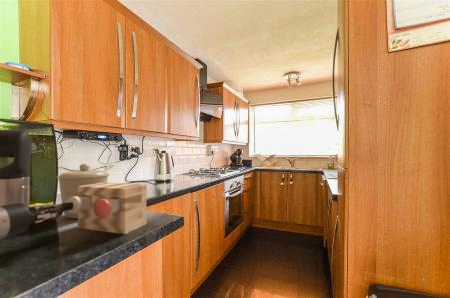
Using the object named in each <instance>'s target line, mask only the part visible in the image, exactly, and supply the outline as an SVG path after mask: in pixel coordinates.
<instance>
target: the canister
mask: <svg viewBox="0 0 450 298" xmlns="http://www.w3.org/2000/svg"><path fill="white" fill-rule="evenodd" d="M90 167H91V166H90V164H88V163H81V164H80V165H79V170H73V171H71V170H70V171H65V172H62V173H61V174H59V175H56V179H57V180H58V182H59V183H58V184H59V192H60V198H61V204H62V203H66V200H67V199H68V198H69V197H74V196H78V186H84V185H90V184H97V183H108V180H109V179H108V178H109V176H110V175H111V174H110V173H109V172H107V171H105V170H100V169H99V170H97V169H90ZM63 215H64V216H65V217H66V218H69V219H78V213H74V214H70V213H68V212H67V211H64V212H63Z"/></svg>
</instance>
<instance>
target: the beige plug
mask: <svg viewBox="0 0 450 298" xmlns="http://www.w3.org/2000/svg"><path fill="white" fill-rule="evenodd" d="M67 202H72V203H73V209H72V210H68V211H67V212H68V213H70V214H74V213H78V212H80V211H81V210H84V209H88V208H91V206H92V196H81V197H78V196H74V197H69V198H68V199H67V200H66V203H67Z"/></svg>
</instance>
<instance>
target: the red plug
mask: <svg viewBox="0 0 450 298" xmlns="http://www.w3.org/2000/svg"><path fill="white" fill-rule="evenodd" d="M119 210H120V198H110V199H100V200H97V201H95V203H94V205H93V211H94V214H95V215H96V216H97V217H99V218H102V217H105V216H107V215H109V214H110V213H113V212H116V211H119Z"/></svg>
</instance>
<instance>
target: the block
mask: <svg viewBox="0 0 450 298" xmlns="http://www.w3.org/2000/svg"><path fill="white" fill-rule="evenodd" d="M81 196H92V206H91V208H88V209H84V210H81V211H80V212H78V218H77V228H78V229H84V230H91V231H99V232H107V233H115V234H122V235H126V234H128V233H131V232H133V231H135V230H136V229H139V228H141V227H143V226H145V225H147V184H144V183H127V182H126V183H123V182H121V183H120V182H107V183H97V184H90V185H84V186H78V197H81ZM110 198H120V210H119V211H116V212H113V213H110V214H109V215H107V216H105V217H102V218H99V217H97V216H96V215H95V214H94V211H93V205H94V203H95V201H97V200H100V199H110Z"/></svg>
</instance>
